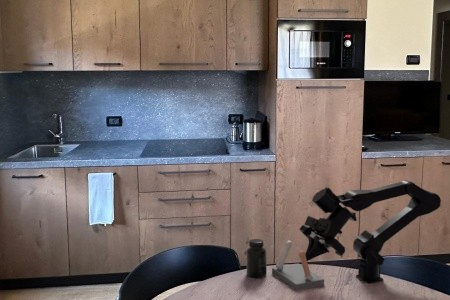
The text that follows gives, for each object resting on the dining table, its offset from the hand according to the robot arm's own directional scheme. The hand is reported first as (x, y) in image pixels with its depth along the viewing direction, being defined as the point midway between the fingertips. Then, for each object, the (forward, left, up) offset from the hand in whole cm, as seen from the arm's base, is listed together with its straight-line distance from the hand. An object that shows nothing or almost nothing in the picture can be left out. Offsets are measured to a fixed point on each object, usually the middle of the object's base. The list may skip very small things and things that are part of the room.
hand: (305, 260), depth 146 cm
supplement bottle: (+10, -15, -9) cm, 20 cm away
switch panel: (-1, -6, -9) cm, 11 cm away
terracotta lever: (-1, 0, -6) cm, 6 cm away
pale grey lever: (+3, -11, -6) cm, 13 cm away
